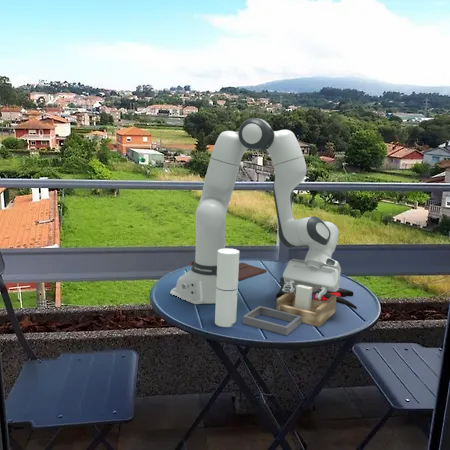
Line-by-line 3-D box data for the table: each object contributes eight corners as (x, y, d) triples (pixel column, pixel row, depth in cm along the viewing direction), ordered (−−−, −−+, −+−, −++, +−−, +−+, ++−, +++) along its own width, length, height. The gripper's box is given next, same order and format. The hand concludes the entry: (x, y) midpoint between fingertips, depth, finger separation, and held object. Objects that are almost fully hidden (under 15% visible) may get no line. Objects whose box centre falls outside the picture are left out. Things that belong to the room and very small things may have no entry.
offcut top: (293, 302, 173) (293, 298, 173) (298, 299, 177) (298, 295, 176) (319, 309, 168) (319, 305, 168) (323, 306, 171) (324, 302, 171)
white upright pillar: (294, 316, 168) (296, 286, 166) (296, 314, 171) (299, 284, 168) (307, 319, 166) (309, 289, 164) (310, 317, 168) (312, 287, 166)
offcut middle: (293, 306, 173) (293, 303, 173) (297, 303, 177) (297, 299, 176) (320, 312, 169) (320, 308, 168) (323, 309, 172) (323, 305, 172)
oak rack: (275, 318, 169) (276, 299, 167) (293, 304, 182) (295, 287, 181) (319, 329, 161) (320, 309, 159) (334, 314, 174) (336, 296, 173)
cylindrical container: (210, 322, 163) (213, 250, 158) (224, 316, 168) (227, 247, 163) (226, 329, 158) (229, 255, 153) (240, 323, 163) (243, 251, 158)
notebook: (266, 273, 222) (266, 269, 222) (239, 282, 208) (239, 277, 207) (241, 266, 232) (241, 262, 232) (213, 274, 217) (213, 270, 217)
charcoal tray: (242, 326, 161) (242, 316, 160) (258, 315, 171) (259, 305, 170) (286, 338, 153) (287, 328, 152) (301, 326, 163) (301, 316, 162)
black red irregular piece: (274, 304, 183) (355, 314, 178) (275, 295, 182) (357, 305, 177) (279, 283, 208) (351, 292, 203) (280, 275, 207) (352, 283, 202)
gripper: (288, 253, 176) (275, 285, 170) (342, 263, 166) (330, 298, 160) (292, 262, 181) (279, 294, 175) (345, 272, 171) (334, 306, 165)
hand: (304, 296), depth 167 cm, fingers open, 8 cm apart
